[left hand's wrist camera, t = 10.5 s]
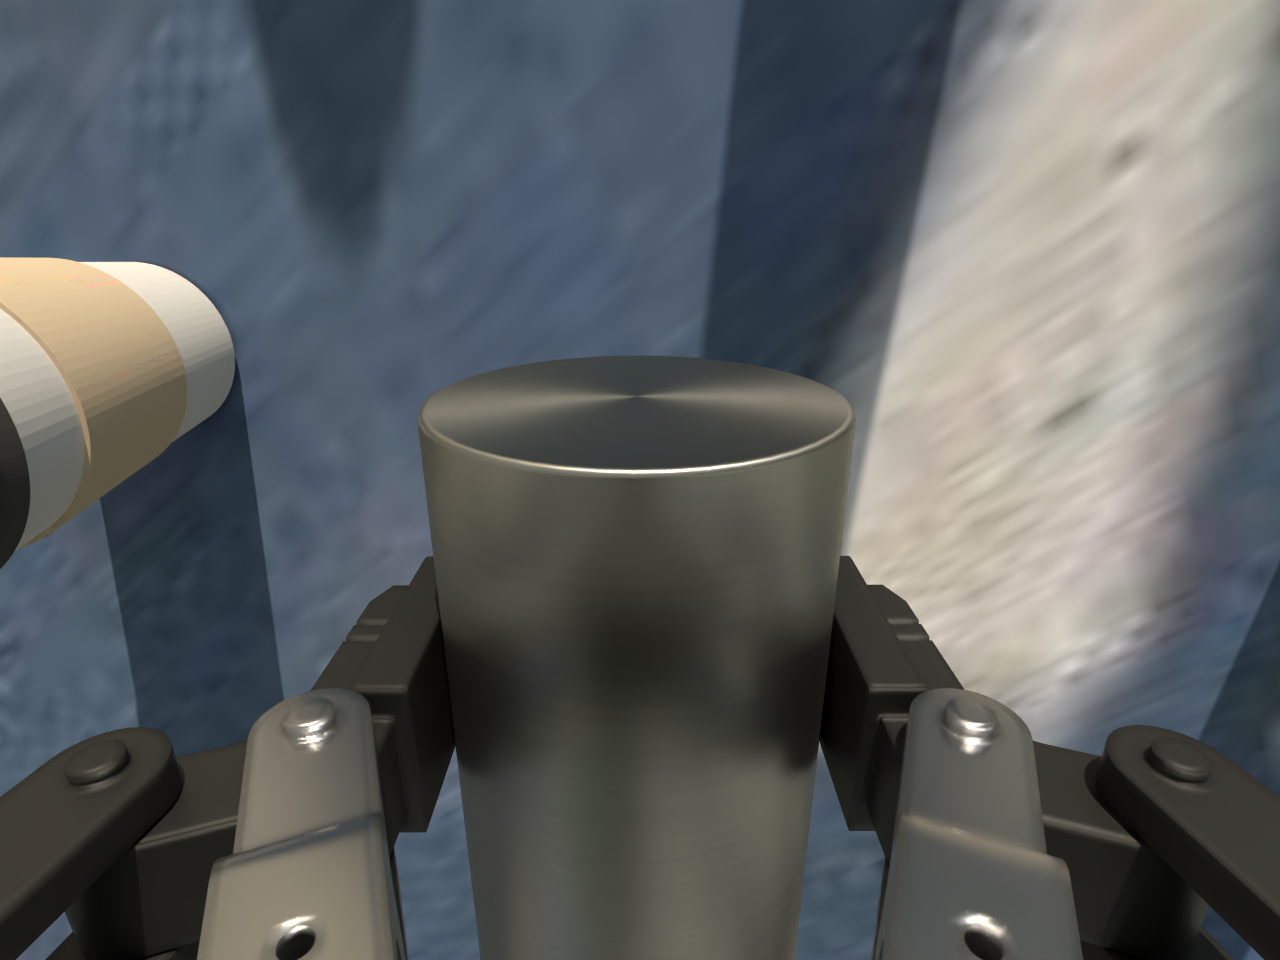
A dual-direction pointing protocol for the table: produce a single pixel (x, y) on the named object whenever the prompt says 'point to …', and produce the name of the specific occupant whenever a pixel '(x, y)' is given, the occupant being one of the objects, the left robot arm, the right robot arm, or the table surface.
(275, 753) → the left robot arm
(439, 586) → the rod
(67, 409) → the coffee cup
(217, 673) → the table surface
